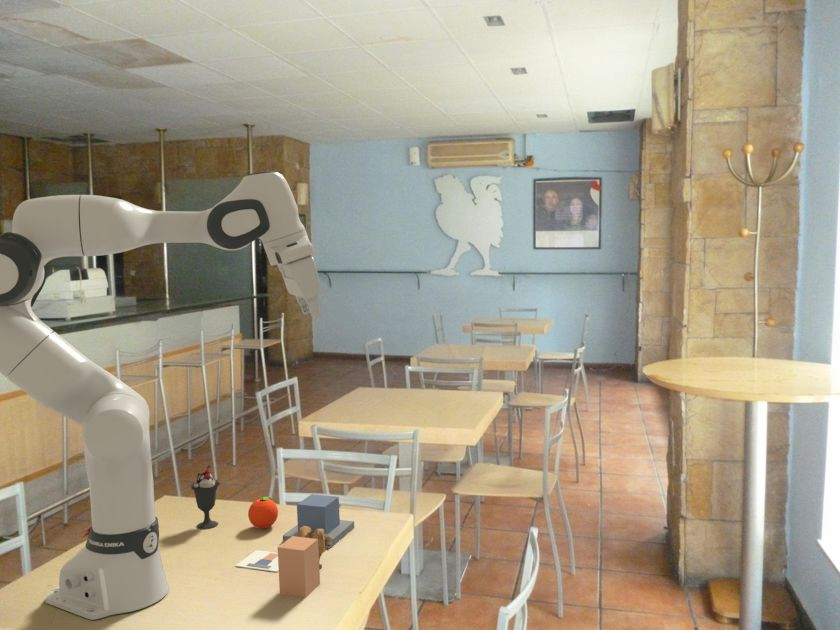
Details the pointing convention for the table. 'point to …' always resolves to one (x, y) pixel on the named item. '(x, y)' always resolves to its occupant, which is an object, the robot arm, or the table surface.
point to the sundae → (205, 497)
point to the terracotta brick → (298, 566)
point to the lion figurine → (316, 534)
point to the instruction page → (261, 561)
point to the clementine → (263, 513)
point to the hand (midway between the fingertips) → (312, 315)
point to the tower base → (321, 517)
